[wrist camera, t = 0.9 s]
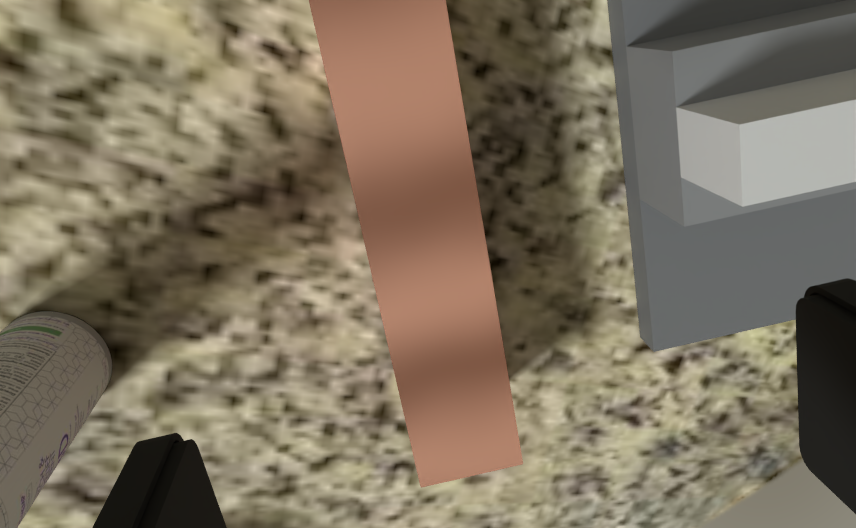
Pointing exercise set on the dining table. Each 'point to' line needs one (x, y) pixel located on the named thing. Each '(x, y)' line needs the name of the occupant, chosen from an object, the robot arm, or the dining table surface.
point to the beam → (422, 228)
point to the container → (44, 400)
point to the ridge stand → (735, 158)
